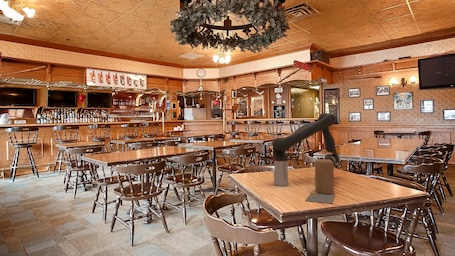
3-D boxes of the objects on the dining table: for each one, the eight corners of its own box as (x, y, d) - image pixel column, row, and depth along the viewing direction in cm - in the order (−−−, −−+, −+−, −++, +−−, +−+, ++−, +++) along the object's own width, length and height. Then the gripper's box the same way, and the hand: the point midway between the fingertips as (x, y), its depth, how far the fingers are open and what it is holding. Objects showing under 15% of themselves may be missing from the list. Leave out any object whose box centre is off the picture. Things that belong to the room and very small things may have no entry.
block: (334, 194, 161) (333, 161, 161) (317, 193, 163) (316, 161, 163) (331, 190, 171) (330, 159, 171) (315, 189, 173) (314, 159, 173)
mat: (305, 201, 149) (305, 200, 149) (310, 193, 164) (310, 192, 164) (332, 204, 143) (332, 203, 143) (335, 196, 158) (335, 195, 158)
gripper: (319, 156, 194) (315, 159, 179) (339, 156, 188) (336, 160, 173) (319, 166, 194) (315, 170, 179) (339, 167, 188) (337, 171, 173)
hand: (326, 165), depth 176 cm, fingers closed
